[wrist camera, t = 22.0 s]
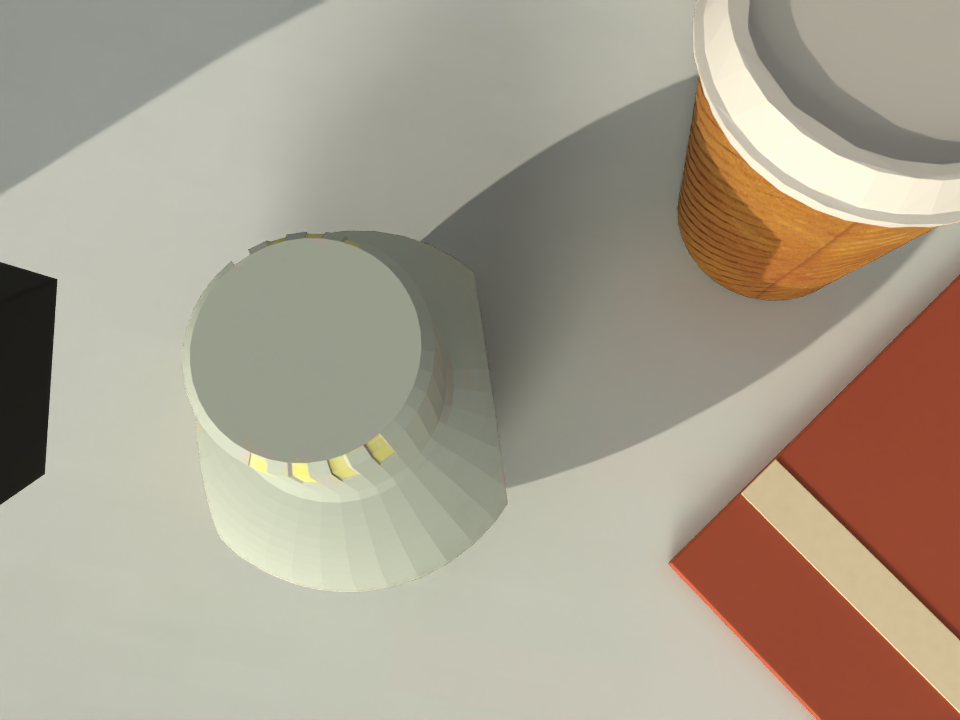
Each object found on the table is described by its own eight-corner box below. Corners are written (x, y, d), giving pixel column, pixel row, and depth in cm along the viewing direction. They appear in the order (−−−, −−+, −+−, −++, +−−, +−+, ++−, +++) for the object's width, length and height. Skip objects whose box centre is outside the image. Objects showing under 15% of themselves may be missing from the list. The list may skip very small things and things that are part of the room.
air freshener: (515, 569, 29) (522, 564, 19) (260, 607, 29) (136, 621, 19) (468, 252, 32) (453, 106, 22) (234, 286, 31) (114, 155, 22)
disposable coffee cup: (731, 46, 33) (855, -243, 22) (957, 192, 32) (1223, -35, 20) (576, 238, 32) (619, 38, 20) (806, 402, 30) (999, 290, 18)
